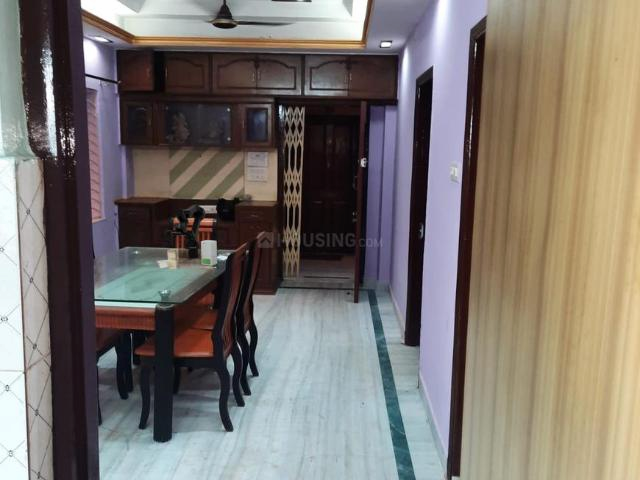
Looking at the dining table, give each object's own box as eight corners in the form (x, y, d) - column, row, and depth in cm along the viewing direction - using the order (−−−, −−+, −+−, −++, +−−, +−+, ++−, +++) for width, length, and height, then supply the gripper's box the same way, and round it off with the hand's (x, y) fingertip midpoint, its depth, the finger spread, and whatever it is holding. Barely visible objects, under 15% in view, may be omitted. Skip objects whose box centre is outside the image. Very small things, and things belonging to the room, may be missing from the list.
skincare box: (201, 264, 360) (200, 241, 358) (208, 262, 366) (206, 239, 363) (211, 265, 356) (210, 242, 354) (218, 263, 362) (216, 240, 360)
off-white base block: (172, 263, 367) (172, 259, 366) (175, 266, 358) (175, 261, 357) (157, 265, 362) (156, 261, 362) (159, 268, 354) (159, 263, 353)
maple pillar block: (171, 267, 356) (170, 248, 354) (179, 267, 355) (177, 248, 353) (168, 268, 351) (167, 250, 349) (176, 268, 350) (174, 250, 348)
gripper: (165, 218, 363) (159, 237, 353) (192, 218, 360) (187, 237, 351) (171, 228, 371) (165, 247, 362) (197, 228, 369) (192, 247, 360)
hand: (177, 244), depth 359 cm, fingers open, 9 cm apart
